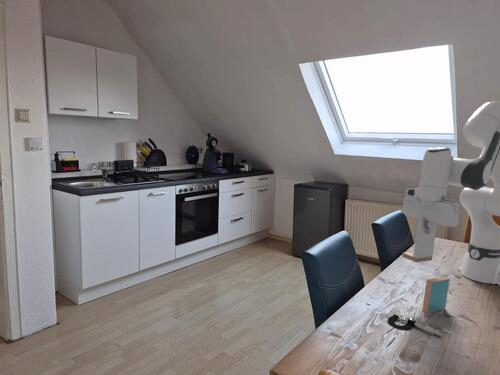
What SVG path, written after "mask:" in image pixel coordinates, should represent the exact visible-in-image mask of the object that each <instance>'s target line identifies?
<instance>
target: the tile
mask: <svg viewBox="0 0 500 375" xmlns="http://www.w3.org/2000/svg"><path fill="white" fill-rule="evenodd" d="M450 280H451V279H450V278H449V277H446V276H442V277H441V276H440V277H435V278H430V279H426V282H425V289H424V295H423V302H422V311H423V312H424V313H427V314H429V313H433V312H437V311H441V310H442V311H443V310H445V309H446V306H447V299H448V292H449V286H450Z"/></svg>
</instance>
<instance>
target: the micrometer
mask: <svg viewBox="0 0 500 375" xmlns="http://www.w3.org/2000/svg"><path fill="white" fill-rule="evenodd" d="M397 320H401V321H403V322H404V323H405V324H404V325H400V324H397V323H395V321H397ZM386 321H387V324H388V325H389V326H390V327H391V328H393V329H397V330H400V331H410V330H411V329H412V328H414V329H417V330H419V331H421V332H424V333H427V334H429V335H431V336H438V337H439V338H442V335H443V333H442V332H440V331H437V328H434V327H431V326H429V325H427V324H425V323H422V322H420V321H417V320H415V319H414V318H413V317H411V318H408V319H406V318H403V317H401V316H399V315H397V314H393V315H392V316H389V317H388V318H387V320H386Z"/></svg>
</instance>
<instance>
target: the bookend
mask: <svg viewBox="0 0 500 375" xmlns="http://www.w3.org/2000/svg"><path fill="white" fill-rule="evenodd" d="M430 224H431V222H430V221H427V219H426V218H417V227H416V235H415V242H414V247H413V248H414V249H413V251H408V252H407V251H406V252H402V258H405V259H407V260H409V261H411V262H414V263H422V262H428V261H433V254H434V249H435V248H434V247H435V241H436V234H437V228H438V226H437V227H436V229H435V230H434V234H433V235H430V234H427V229H430V227H431V226H432V225H430Z"/></svg>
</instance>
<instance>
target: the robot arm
mask: <svg viewBox="0 0 500 375" xmlns="http://www.w3.org/2000/svg"><path fill="white" fill-rule="evenodd" d="M462 129H463V130H462V133H463V137H464V139H465V141H467V142H468V143H469V144H471V146H472V147H476V148H480V149H481V151H480V155H479V156H478V157H477V158H460V157H455V156H453V155H452V149H451V148H448V147H446V146H433V147H429V148H427V149H426V150H425V152H424V156H423V158H422V163H421V168H420V175H421V179H420V180H419V184H418V187H412V188H407V189H405V195H406V196H405V197H404V199H403V203H402V213H403V214H404V215H406V216H408V217H413V218H415V219H418V218H426V219H427V221H430V222H431V224H430V225H432V226H431V227H430V229H427V234H430V235H433V234H434V230H435V229H436V230H437V228H438V227H439V225H440V226H444V227H448V228H456V227H457V226H458V225H459V222H460V206H461V205H462V207H463V208H464V209H465V210H466V212H467V214H468V215H469V216H468V217H469V218H470V221H471V230H470V231H471V232H470V240H469V242H468V245H467V252H466V253H464V256H463V260H462V264H461V266H459V267H458V270H459V272H460V274H461V275H462V276H463V277H465V278H467V279H469V280H472V281H476V282H479V283H483V284H490V283H491V284H492V285H495V284H498V285H497V286H500V225H498V223H496V222H495V220H494V219H493V216H497V217H500V101H496V100H493V101H487V102H486V103H484V104H483V105H481V106H480V107H479V108H478V109H476V110H475V111H474V113H472V115H471V116H470V117H469V118H468V120H466V122H465V124H464V126H463V128H462ZM490 180H492V182H493V186H494V187H487V185H488V184H489V182H490ZM448 185H450V186H456V187H462V188H463V189H462V190H461V192H460V194H459V201H457V199H455V198H450V197H447V194H448ZM460 204H461V205H460ZM436 227H437V228H436Z"/></svg>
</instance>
